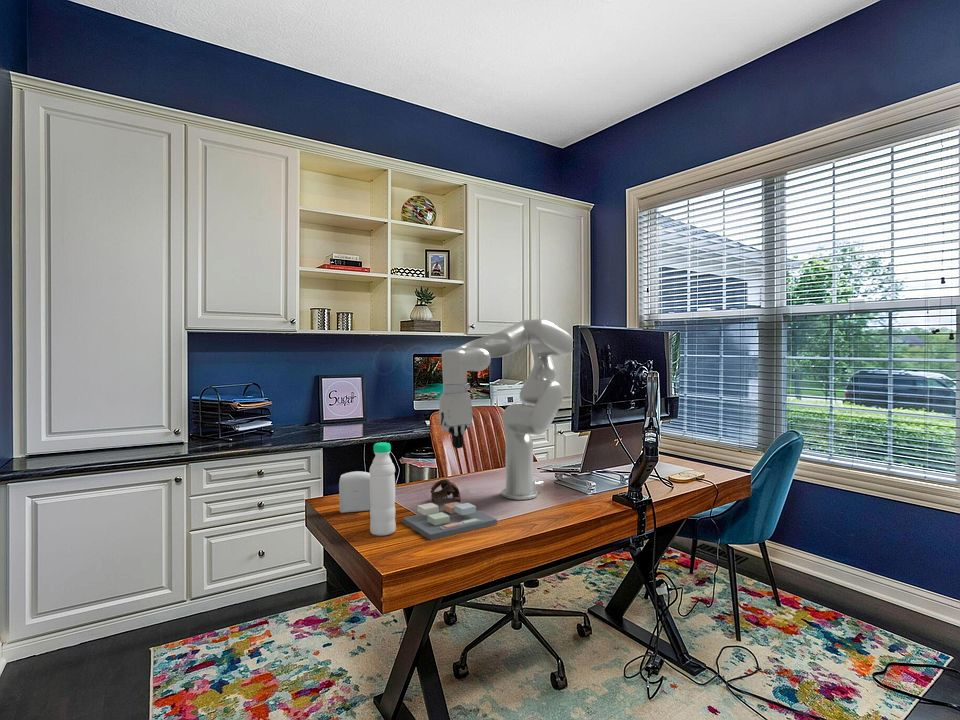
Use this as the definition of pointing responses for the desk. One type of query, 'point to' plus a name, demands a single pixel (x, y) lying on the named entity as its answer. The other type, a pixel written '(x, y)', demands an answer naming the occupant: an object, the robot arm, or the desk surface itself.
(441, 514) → the sage key
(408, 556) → the desk surface
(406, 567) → the desk surface
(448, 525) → the keypad
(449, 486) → the brown arched ornament
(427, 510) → the cream key
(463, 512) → the blue key
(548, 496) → the desk surface
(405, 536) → the desk surface
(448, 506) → the terracotta key
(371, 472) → the water bottle
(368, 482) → the photo printer
